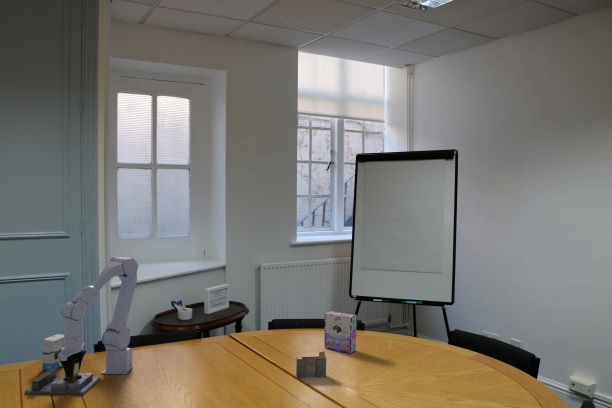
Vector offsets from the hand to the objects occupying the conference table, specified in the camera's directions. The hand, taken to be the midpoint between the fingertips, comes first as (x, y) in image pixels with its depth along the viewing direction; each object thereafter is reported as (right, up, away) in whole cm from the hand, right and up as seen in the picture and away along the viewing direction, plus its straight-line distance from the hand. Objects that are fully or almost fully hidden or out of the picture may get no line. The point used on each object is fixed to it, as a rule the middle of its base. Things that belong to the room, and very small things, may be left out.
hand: (72, 374), depth 171 cm
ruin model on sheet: (+85, -7, +15) cm, 86 cm away
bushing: (0, -2, 0) cm, 2 cm away
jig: (-3, -4, 0) cm, 5 cm away
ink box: (-16, -4, +19) cm, 25 cm away
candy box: (+99, -6, +48) cm, 110 cm away
